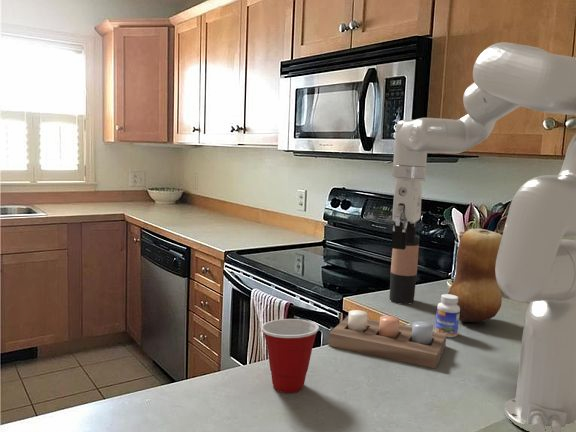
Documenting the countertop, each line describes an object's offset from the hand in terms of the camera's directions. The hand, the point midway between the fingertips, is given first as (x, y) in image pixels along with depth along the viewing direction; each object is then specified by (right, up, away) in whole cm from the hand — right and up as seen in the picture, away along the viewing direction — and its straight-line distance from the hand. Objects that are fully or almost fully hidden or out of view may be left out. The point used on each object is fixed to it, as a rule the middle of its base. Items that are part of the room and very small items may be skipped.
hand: (403, 245), depth 123 cm
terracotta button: (-4, -21, -4) cm, 21 cm away
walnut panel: (-4, -23, -4) cm, 24 cm away
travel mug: (+7, -19, +32) cm, 38 cm away
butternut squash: (+22, -22, +16) cm, 35 cm away
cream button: (-11, -20, -1) cm, 23 cm away
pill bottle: (+12, -23, +6) cm, 26 cm away
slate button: (+2, -21, -7) cm, 23 cm away
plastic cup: (-28, -25, -25) cm, 45 cm away
